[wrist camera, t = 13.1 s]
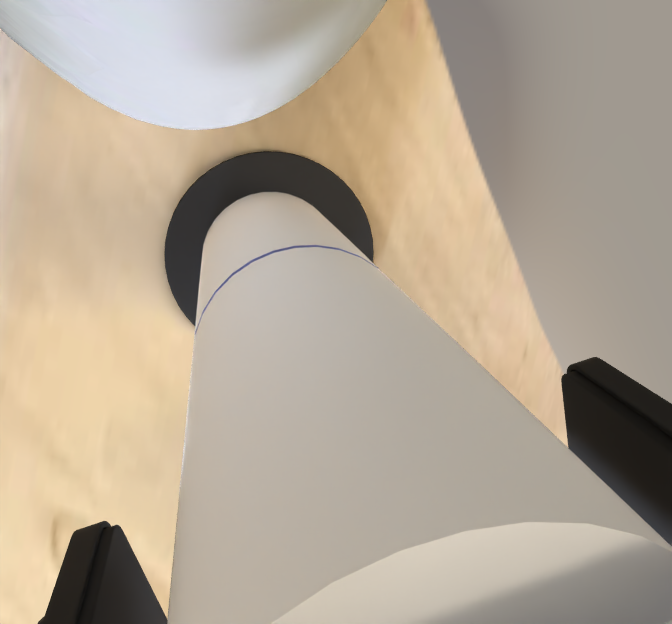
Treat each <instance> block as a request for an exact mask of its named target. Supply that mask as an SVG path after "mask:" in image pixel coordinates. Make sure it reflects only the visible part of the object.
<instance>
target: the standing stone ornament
mask: <svg viewBox="0 0 672 624" xmlns="http://www.w3.org/2000/svg"><path fill="white" fill-rule="evenodd" d="M386 1H387V0H0V28H1V29H2V30H3V31H4V32H5V33H6V34H7V35H8V36H9V37H10V38H11V39H12V40H14V41H15V42H16V43H17V44H19V45H20V46H21V47H23V48H24V49H25V50H26V51H28V52H29V53H30V54H32V55H33V56H34V57H36V58H37V59H38V60H39V61H41V62H42V63H43V64H45V65H46V66H47V67H49V68H50V69H51V70H52V71H54V72H55V73H56V74H58V75H59V76H60V77H62V78H63V79H65V80H66V81H68V82H70V83H71V84H73V85H74V86H76V87H77V88H78V89H80V90H81V91H82V92H84V93H85V94H86V95H88V96H89V97H90V98H92V99H94V100H96V101H98V102H100V103H102V104H103V105H105V106H107V107H109V108H111V109H113V110H116V111H118V112H120V113H122V114H125V115H127V116H129V117H132V118H134V119H137V120H140V121H144V122H147V123H151V124H154V125H159V126H163V127H169V128H176V129H188V130H204V129H216V128H223V127H228V126H233V125H237V124H240V123H244V122H247V121H250V120H253V119H255V118H258V117H261V116H263V115H265V114H267V113H269V112H272V111H274V110H276V109H277V108H279V107H281V106H283V105H285V104H286V103H288V102H289V101H291V100H293V99H294V98H296V97H297V96H298V95H300V94H301V93H303V92H304V91H305V90H307V89H308V88H309V87H311V86H312V85H313V84H314V83H315V82H317V81H318V80H319V79H320V78H321V77H322V76H324V75H325V74H326V73H327V72H328V71H329V70H330V69H331V68H332V67H333V66H334V65H335V64H336V63H337V62H338V61H339V60H340V59H341V58H342V57H343V56H344V55H345V54H346V53H347V52H348V51H349V50H350V49H351V47H352V46H353V45H354V44H355V43H356V42H357V41H358V39H359V38H360V37H361V36H362V35H363V33H364V32H365V31H366V30H367V28H368V27H369V26H370V24H371V23H372V22H373V20H374V19H375V18H376V16H377V15H378V13H379V12H380V11H381V9H382V8H383V6H384V4H385V3H386Z"/></svg>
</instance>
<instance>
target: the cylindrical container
mask: <svg viewBox="0 0 672 624" xmlns="http://www.w3.org/2000/svg"><path fill="white" fill-rule="evenodd" d="M669 621H672V546H671V545H669V544H668V543H667V542H666V541H665V540H664V539H663V538H662V537H661V536H660V535H659V534H658V533H657V532H656V531H655V530H654V529H653V528H652V527H651V526H650V525H648V524H647V523H646V522H645V521H644V520H643V519H642V518H641V517H640V516H639V515H638V514H637V513H636V512H635V511H634V510H633V509H632V508H631V507H630V506H629V505H627V504H626V503H625V502H624V501H623V500H622V499H621V498H620V497H619V496H618V495H617V494H616V493H615V492H614V491H613V490H612V489H611V488H610V487H609V486H607V485H606V484H605V483H604V482H603V481H602V480H601V479H600V478H599V477H598V476H597V475H596V474H595V473H594V472H593V471H592V470H591V469H590V468H589V467H588V466H586V465H585V464H584V463H583V462H582V461H581V460H580V459H579V458H578V457H577V456H576V455H575V454H574V453H573V452H572V451H571V450H570V449H569V448H568V447H567V446H565V445H564V444H563V443H562V442H561V441H560V440H559V439H558V438H557V437H556V436H555V435H554V434H553V433H552V432H551V431H550V430H549V429H548V428H547V427H546V426H544V425H543V424H542V423H541V422H540V421H539V420H538V419H537V418H536V417H535V416H534V415H533V414H532V413H531V412H530V411H529V410H528V409H527V408H526V407H525V406H523V405H522V404H521V403H520V402H519V401H518V400H517V399H516V398H515V397H514V396H513V395H512V394H511V393H510V392H509V391H508V390H507V389H506V388H505V387H504V386H502V385H501V384H500V383H499V382H498V381H497V380H496V379H495V378H494V377H493V376H492V375H491V374H490V373H489V372H488V371H487V370H486V369H485V368H484V367H482V366H481V365H480V364H479V363H478V362H477V361H476V360H475V359H474V358H473V357H472V356H471V355H470V354H469V353H468V352H467V351H466V350H465V349H464V348H462V347H461V346H460V345H459V344H458V343H457V342H456V341H455V340H454V339H453V338H452V337H451V336H450V335H449V334H448V333H447V332H446V331H444V330H443V329H442V328H441V327H440V326H439V325H438V324H437V323H436V322H435V321H434V320H433V319H432V318H431V317H430V316H429V315H427V314H426V313H425V312H424V311H423V310H422V309H421V308H420V307H419V306H418V305H417V304H416V303H415V302H414V301H413V300H412V299H411V298H409V297H408V296H407V295H406V294H405V293H404V292H403V291H402V290H401V289H400V288H399V287H398V286H397V285H396V284H395V283H394V282H393V281H391V280H390V279H389V278H388V277H387V276H386V275H385V274H384V273H383V272H382V271H381V270H380V269H379V268H378V267H377V266H376V265H375V264H374V263H372V262H371V261H370V260H369V259H368V258H367V257H366V256H365V255H364V254H363V253H362V252H361V251H360V250H359V249H358V248H357V247H356V246H355V245H354V244H353V243H352V242H351V241H350V240H348V239H347V238H346V237H345V236H344V235H343V234H342V233H341V232H340V231H339V230H338V229H337V228H336V227H335V226H334V225H333V224H332V223H330V222H329V221H328V220H327V219H326V218H325V217H324V216H323V215H322V214H321V213H320V212H319V211H318V210H317V209H316V208H315V207H313V206H312V205H310V204H309V203H307V202H306V201H304V200H303V199H300V198H298V197H295V196H293V195H290V194H286V193H280V192H260V193H256V194H251V195H248V196H246V197H243V198H241V199H239V200H237V201H235V202H234V203H232V204H231V205H229V206H228V207H226V208H225V209H224V210H223V211H222V212H221V213H220V214H219V216H218V217H217V218H216V219H215V220H214V222H213V224H212V225H211V227H210V229H209V230H208V233H207V235H206V238H205V241H204V244H203V253H202V262H201V272H200V282H199V292H198V303H197V314H196V325H195V336H194V347H193V357H192V368H191V378H190V388H189V399H188V409H187V419H186V429H185V440H184V450H183V460H182V471H181V481H180V492H179V503H178V513H177V524H176V535H175V545H174V556H173V567H172V577H171V588H170V599H169V609H168V620H167V624H664V623H666V622H669Z"/></svg>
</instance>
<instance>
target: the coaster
mask: <svg viewBox="0 0 672 624" xmlns="http://www.w3.org/2000/svg"><path fill="white" fill-rule="evenodd" d="M260 192H280V193H286V194H290V195H293V196H295V197H298V198H300V199H303V200H304V201H306V202H307V203H309V204H310V205H312V206H313V207H315V208H316V209H317V210H318V211H319V212H320V213H321V214H322V215H323V216H324V217H325V218H326V219H327V220H328V221H329V222H330V223H332V224H333V225H334V226H335V227H336V228H337V229H338V230H339V231H340V232H341V233H342V234H343V235H344V236H345V237H346V238H347V239H348V240H350V241H351V242H352V243H353V244H354V245H355V246H356V247H357V248H358V249H359V250H360V251H361V252H362V253H363V254H364V255H365V256H366V257H367V258H368V259H369V260H370V261H371V262H372V263H373V239H372V234H371V229H370V225H369V222H368V219H367V216H366V214H365V212H364V210H363V208H362V206H361V204H360V202H359V200H358V199H357V197H356V196H355V194H354V193H353V192H352V190H351V189H350V188H349V187H348V186H347V185H346V184H345V183H344V181H343V180H341V179H340V178H339V177H338V176H337V175H335V174H334V173H333V172H332V171H330V170H329V169H327V168H325V167H324V166H322V165H321V164H319V163H316V162H314V161H312V160H310V159H308V158H305V157H302V156H298V155H295V154H290V153H284V152H271V151H264V152H254V153H248V154H244V155H240V156H236V157H234V158H231V159H229V160H227V161H224V162H222V163H220V164H219V165H217V166H215V167H213V168H212V169H210V170H209V171H207V172H206V173H205V174H204V175H202V176H201V177H200V178H199V179H198V180H197V181H196V182H195V183H194V184H193V185H192V186H191V187H190V188H189V189H188V190H187V192H186V193H185V194H184V196H183V197H182V198H181V200H180V202H179V204H178V206H177V207H176V209H175V211H174V213H173V216H172V219H171V221H170V224H169V227H168V231H167V236H166V241H165V268H166V273H167V278H168V282H169V285H170V288H171V291H172V294H173V296H174V298H175V299H176V301H177V303H178V305H179V307H180V308H181V310H182V311H183V313H184V314H185V315H186V317H187V318H188V319H189V320H190V321H191V322H192V323H193V325H194V326H195V325H196V314H197V303H198V292H199V282H200V272H201V262H202V253H203V244H204V241H205V238H206V235H207V233H208V230H209V229H210V227H211V225H212V224H213V222H214V220H215V219H216V218H217V217H218V216H219V214H220V213H221V212H222V211H223V210H224V209H225V208H226V207H228V206H229V205H231V204H232V203H234V202H235V201H237V200H239V199H241V198H243V197H246V196H248V195H251V194H256V193H260Z"/></svg>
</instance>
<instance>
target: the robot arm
mask: <svg viewBox="0 0 672 624" xmlns="http://www.w3.org/2000/svg"><path fill="white" fill-rule="evenodd" d="M561 382H562V392H563V401H564V410H565V420H566V429H567V438H568V447H569V449H570V450H571V451H572V452H573V453H574V454H575V455H576V456H577V457H578V458H579V459H580V460H581V461H582V462H583V463H584V464H585V465H586V466H588V467H589V468H590V469H591V470H592V471H593V472H594V473H595V474H596V475H597V476H598V477H599V478H600V479H601V480H602V481H603V482H604V483H605V484H606V485H607V486H609V487H610V488H611V489H612V490H613V491H614V492H615V493H616V494H617V495H618V496H619V497H620V498H621V499H622V500H623V501H624V502H625V503H626V504H627V505H629V506H630V507H631V508H632V509H633V510H634V511H635V512H636V513H637V514H638V515H639V516H640V517H641V518H642V519H643V520H644V521H645V522H646V523H647V524H648V525H650V526H651V527H652V528H653V529H654V530H655V531H656V532H657V533H658V534H659V535H660V536H661V537H662V538H663V539H664V540H665V541H666V542H667V543H668V544H669V545H671V546H672V404H671V403H669V402H668V401H666V400H664V399H663V398H661V397H660V396H658V395H657V394H655V393H653V392H652V391H650V390H649V389H647V388H646V387H644V386H642V385H641V384H639V383H638V382H636V381H634V380H633V379H631V378H630V377H628V376H626V375H625V374H624V373H622V372H620V371H619V370H617V369H616V368H614V367H612V366H611V365H609V364H608V363H606V362H605V361H603V360H601V359H600V358H597V357H593V358H590V359H587V360H584V361H581V362H578V363H575V364H572V365H570V366H569V367H568V369H567V374H564V375H563V376H562V379H561ZM38 624H167V618H166V616H165V614H164V612H163V610H162V608H161V606H160V604H159V602H158V600H157V598H156V596H155V594H154V592H153V590H152V588H151V586H150V584H149V582H148V580H147V578H146V576H145V574H144V572H143V570H142V568H141V566H140V564H139V562H138V560H137V558H136V556H135V554H134V552H133V550H132V548H131V546H130V544H129V542H128V540H127V538H126V536H125V534H124V532H123V530H122V529H121V527H120V526H119V525H115V526H112V527H111V525H110V524H109V523H108V522H107V521H103V522H100V523H97V524H94V525H91V526H88V527H85V528H82V529H79V530H76V531H75V532H74V533H73V535H72V537H71V540H70V543H69V546H68V549H67V551H66V554H65V557H64V560H63V563H62V566H61V569H60V572H59V575H58V578H57V581H56V584H55V587H54V590H53V593H52V596H51V599H50V602H49V605H48V608H47V611H46V614H45V617H43V618H42V619H41V620H40V621H39V622H38ZM664 624H672V621H669V622H666V623H664Z"/></svg>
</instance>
